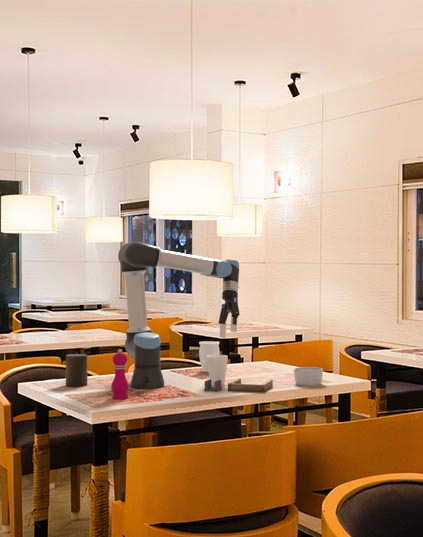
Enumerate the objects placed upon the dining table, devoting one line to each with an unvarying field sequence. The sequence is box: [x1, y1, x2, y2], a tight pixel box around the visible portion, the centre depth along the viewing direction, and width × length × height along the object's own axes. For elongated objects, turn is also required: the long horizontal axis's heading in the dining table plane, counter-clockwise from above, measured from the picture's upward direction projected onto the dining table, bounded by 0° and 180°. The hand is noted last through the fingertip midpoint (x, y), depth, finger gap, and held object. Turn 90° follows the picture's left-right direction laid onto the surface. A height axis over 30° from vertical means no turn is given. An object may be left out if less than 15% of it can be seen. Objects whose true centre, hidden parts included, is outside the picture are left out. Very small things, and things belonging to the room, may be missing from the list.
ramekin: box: [293, 366, 324, 387], centre depth 341 cm, size 13×13×7 cm
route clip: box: [203, 378, 223, 392], centre depth 326 cm, size 6×6×4 cm
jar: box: [198, 340, 221, 373], centre depth 384 cm, size 11×10×15 cm
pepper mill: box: [110, 348, 130, 400], centre depth 307 cm, size 7×7×20 cm
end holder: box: [227, 378, 274, 393], centre depth 329 cm, size 16×16×3 cm
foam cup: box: [207, 354, 229, 387], centre depth 340 cm, size 10×9×13 cm
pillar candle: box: [65, 352, 88, 388], centre depth 342 cm, size 10×10×15 cm
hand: (227, 334), depth 355 cm, fingers open, 13 cm apart
